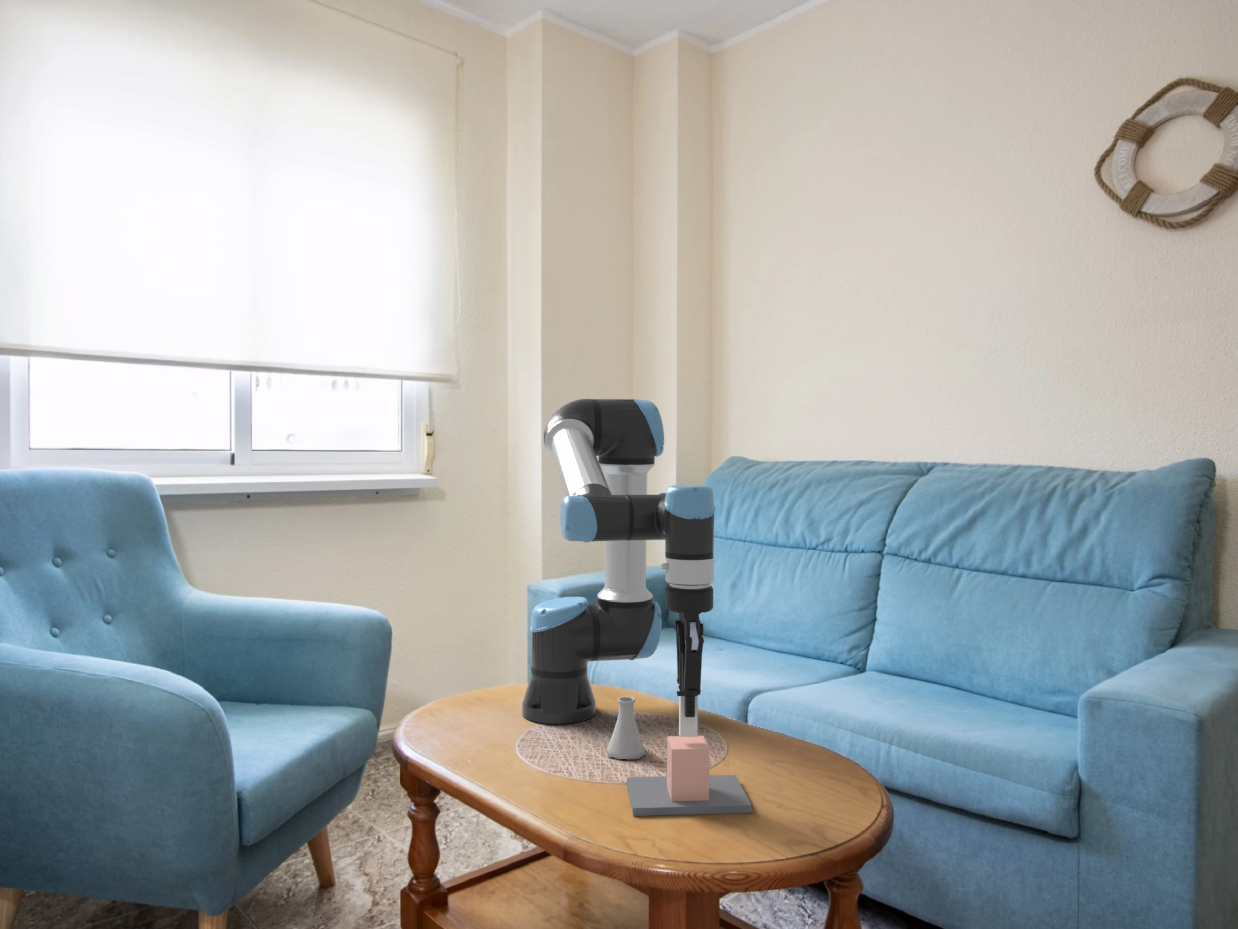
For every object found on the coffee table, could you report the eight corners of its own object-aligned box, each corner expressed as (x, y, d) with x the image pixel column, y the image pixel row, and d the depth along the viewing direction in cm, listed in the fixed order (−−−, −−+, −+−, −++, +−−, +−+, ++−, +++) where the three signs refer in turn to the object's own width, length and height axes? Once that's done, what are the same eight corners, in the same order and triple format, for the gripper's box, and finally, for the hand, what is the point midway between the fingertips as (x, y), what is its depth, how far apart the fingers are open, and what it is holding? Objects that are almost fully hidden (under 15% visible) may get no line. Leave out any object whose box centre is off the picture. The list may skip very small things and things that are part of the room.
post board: (626, 784, 143) (627, 747, 143) (735, 782, 144) (735, 744, 144) (633, 816, 131) (633, 775, 131) (751, 813, 132) (751, 772, 132)
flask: (642, 762, 153) (642, 706, 152) (602, 759, 154) (602, 703, 154) (649, 748, 160) (649, 694, 159) (610, 745, 161) (610, 691, 161)
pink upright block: (666, 786, 139) (667, 736, 139) (702, 785, 140) (703, 735, 139) (671, 801, 133) (671, 749, 133) (709, 800, 134) (709, 748, 134)
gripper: (660, 578, 142) (659, 722, 142) (670, 592, 129) (669, 750, 129) (705, 578, 142) (705, 721, 143) (720, 591, 129) (719, 749, 130)
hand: (688, 735), depth 136 cm, fingers closed
